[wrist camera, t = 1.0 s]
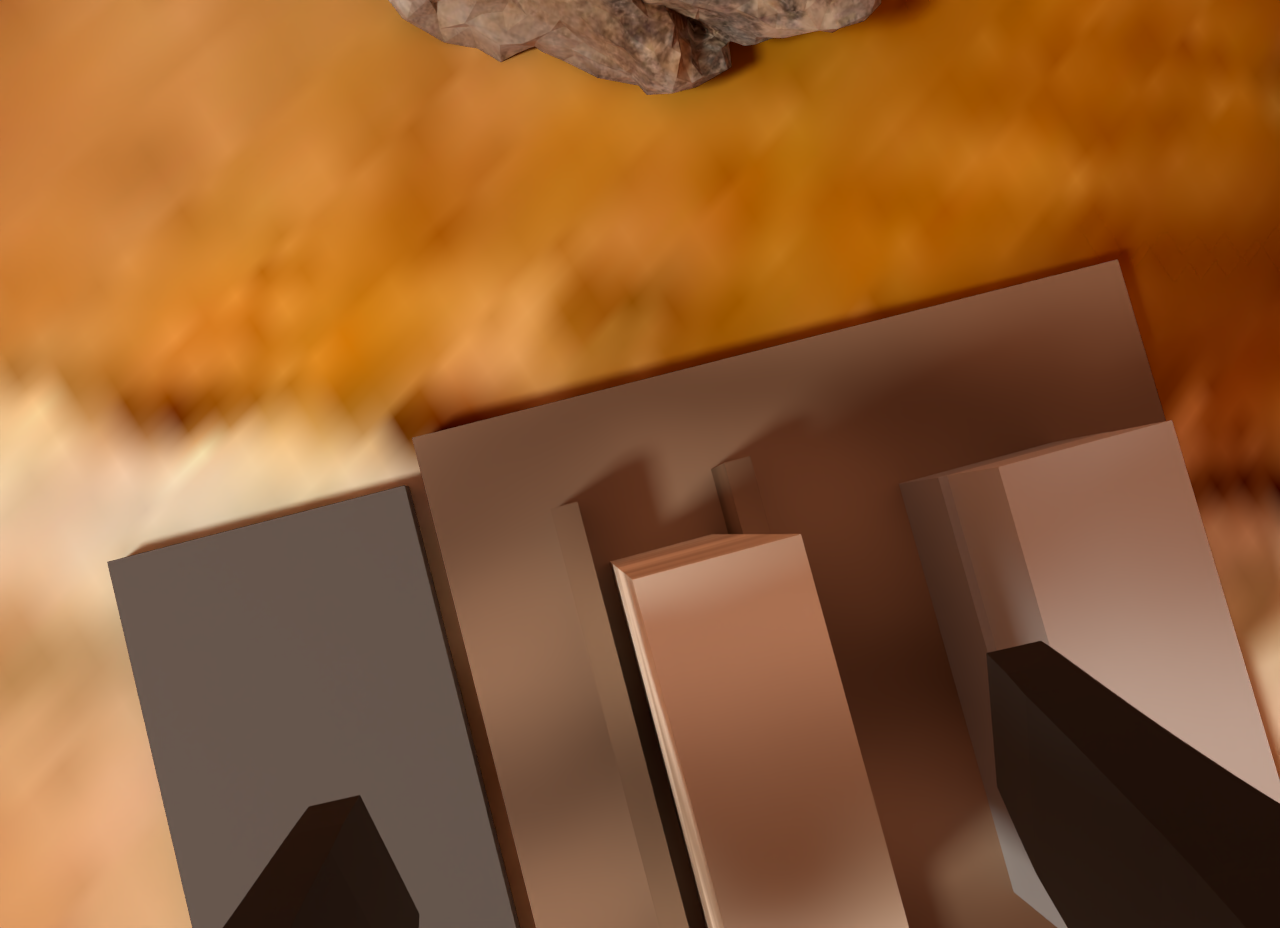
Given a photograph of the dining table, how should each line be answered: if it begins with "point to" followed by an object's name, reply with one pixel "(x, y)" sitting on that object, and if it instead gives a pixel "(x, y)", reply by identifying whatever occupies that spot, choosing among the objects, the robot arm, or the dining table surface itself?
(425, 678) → the gray rectangular plate
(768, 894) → the brown rectangular block
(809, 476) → the walnut rack
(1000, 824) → the block
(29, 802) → the dining table surface
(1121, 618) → the upper offcut
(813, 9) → the clay tablet
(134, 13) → the dining table surface
